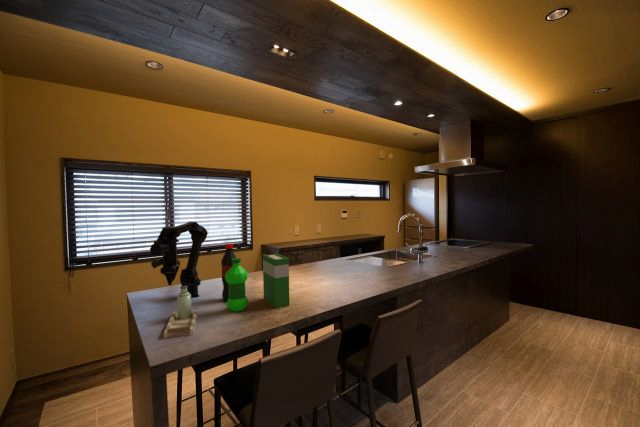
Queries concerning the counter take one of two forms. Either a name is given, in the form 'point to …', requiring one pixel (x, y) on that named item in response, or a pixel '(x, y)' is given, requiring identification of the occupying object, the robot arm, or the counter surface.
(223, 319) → the counter surface
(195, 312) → the rest
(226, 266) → the cola bottle
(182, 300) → the glass bottle
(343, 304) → the counter surface
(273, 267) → the green cereal box
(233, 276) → the plastic bottle
